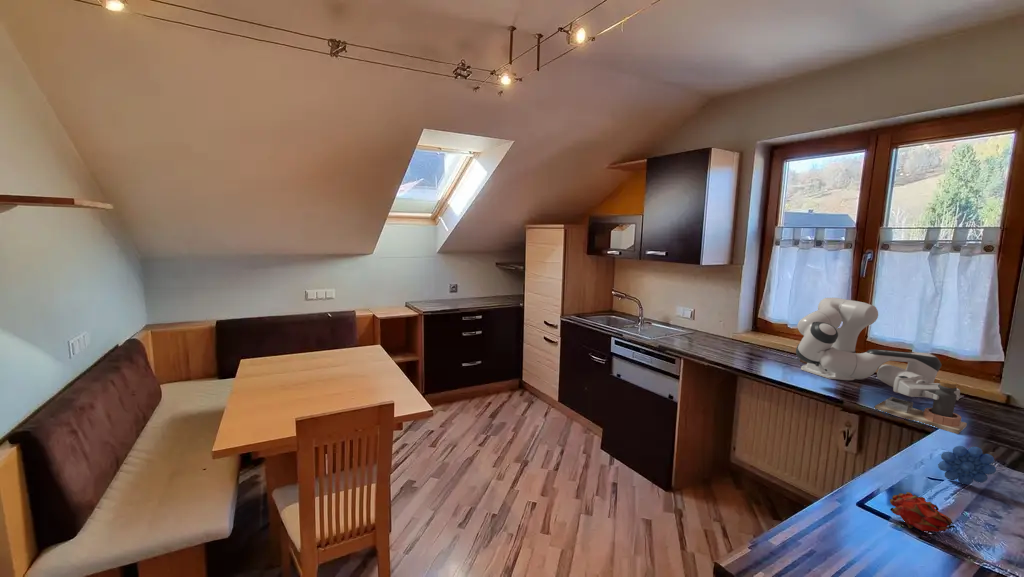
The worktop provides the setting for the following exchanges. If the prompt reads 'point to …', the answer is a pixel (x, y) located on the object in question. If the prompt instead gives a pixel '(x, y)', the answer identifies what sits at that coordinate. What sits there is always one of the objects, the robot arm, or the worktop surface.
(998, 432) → the worktop surface
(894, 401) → the square holder
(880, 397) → the worktop surface
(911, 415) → the wooden board
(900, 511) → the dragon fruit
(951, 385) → the bottle
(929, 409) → the round holder
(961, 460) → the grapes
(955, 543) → the worktop surface
